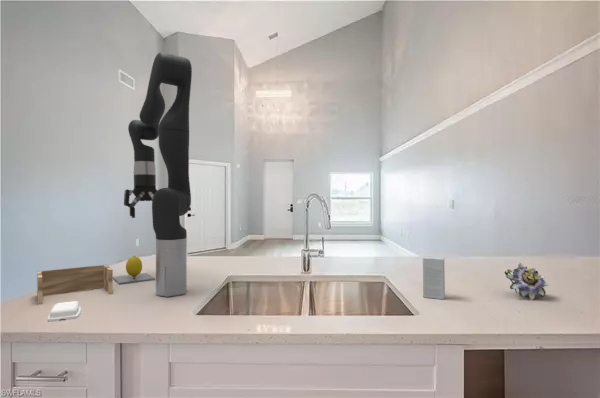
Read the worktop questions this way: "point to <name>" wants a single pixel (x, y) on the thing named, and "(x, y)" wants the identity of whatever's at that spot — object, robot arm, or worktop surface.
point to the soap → (64, 311)
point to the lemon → (134, 266)
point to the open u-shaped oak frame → (74, 280)
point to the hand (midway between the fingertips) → (145, 217)
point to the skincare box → (433, 277)
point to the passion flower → (527, 281)
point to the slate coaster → (133, 278)
